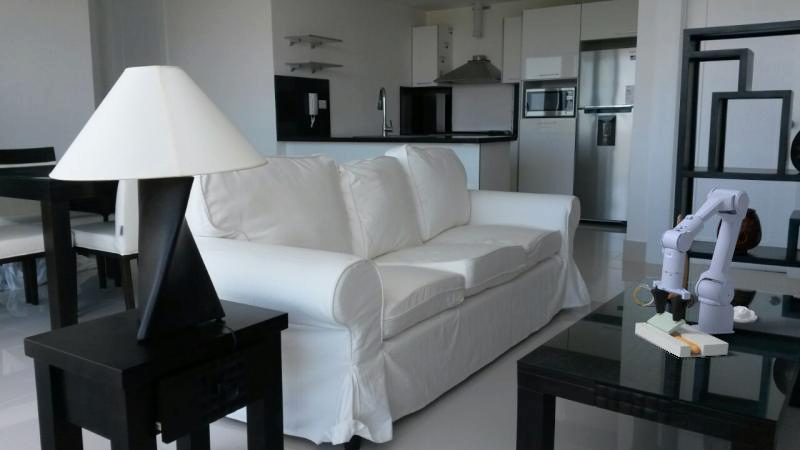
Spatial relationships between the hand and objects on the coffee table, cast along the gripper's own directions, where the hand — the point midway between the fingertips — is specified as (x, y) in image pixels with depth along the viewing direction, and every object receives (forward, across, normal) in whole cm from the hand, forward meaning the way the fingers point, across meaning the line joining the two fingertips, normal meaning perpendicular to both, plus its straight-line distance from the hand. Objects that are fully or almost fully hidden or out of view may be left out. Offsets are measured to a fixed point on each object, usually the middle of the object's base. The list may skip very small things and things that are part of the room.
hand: (668, 316), depth 187 cm
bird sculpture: (+7, -37, +30) cm, 48 cm away
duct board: (+7, +4, +2) cm, 8 cm away
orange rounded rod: (+5, +8, 0) cm, 10 cm away
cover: (+2, 0, 0) cm, 2 cm away
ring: (+7, -34, +15) cm, 38 cm away
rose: (+7, -15, +39) cm, 42 cm away
